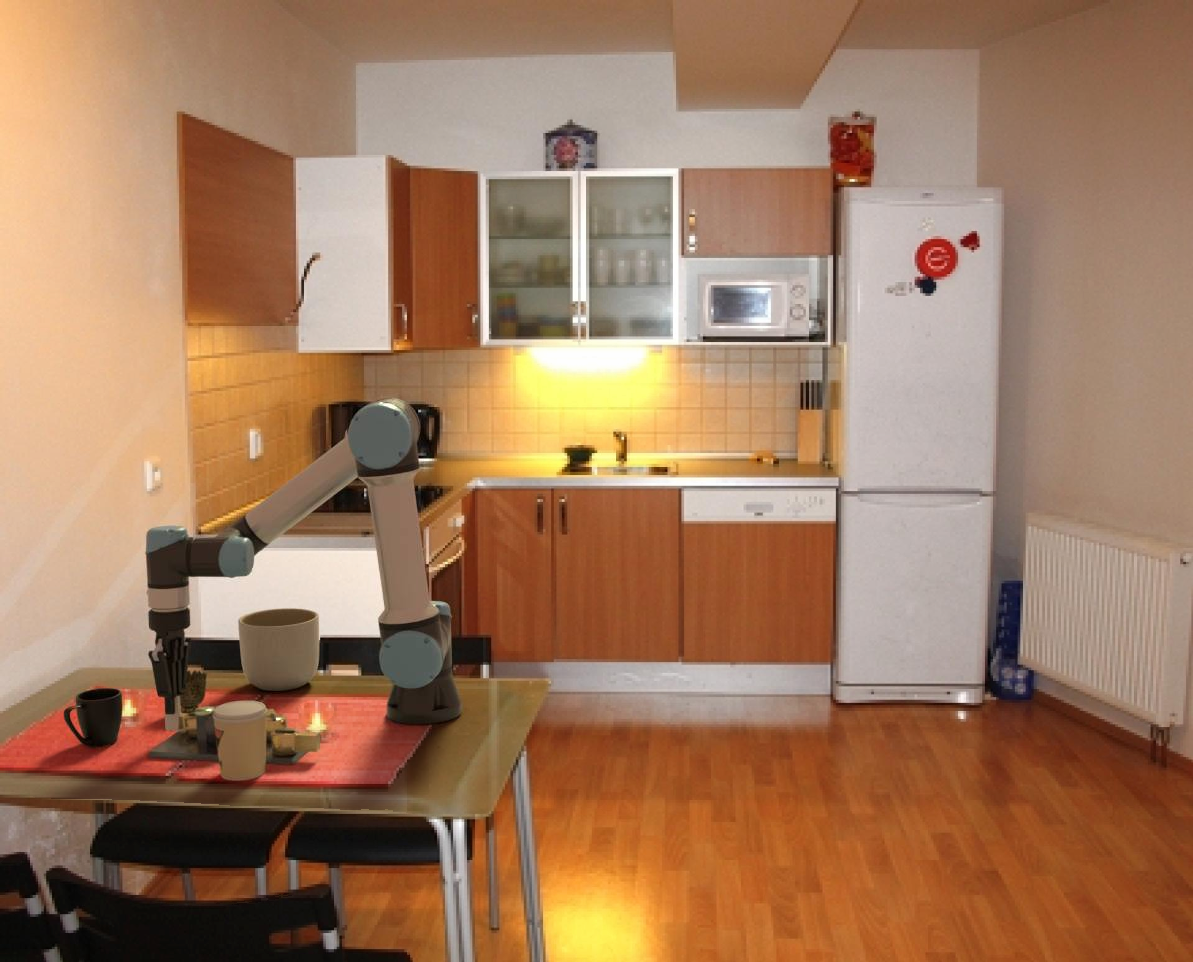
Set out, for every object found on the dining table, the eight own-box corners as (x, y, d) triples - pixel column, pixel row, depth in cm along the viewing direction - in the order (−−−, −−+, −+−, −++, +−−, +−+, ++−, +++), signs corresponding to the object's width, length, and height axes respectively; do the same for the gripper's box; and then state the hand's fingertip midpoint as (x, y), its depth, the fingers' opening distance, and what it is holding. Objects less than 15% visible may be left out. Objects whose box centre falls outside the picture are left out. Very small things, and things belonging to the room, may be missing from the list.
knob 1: (217, 730, 253) (216, 710, 252) (202, 738, 248) (201, 718, 247) (177, 726, 255) (176, 707, 255) (162, 734, 250) (161, 714, 250)
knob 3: (267, 754, 239) (266, 733, 238) (278, 745, 244) (277, 725, 243) (313, 756, 237) (312, 736, 237) (323, 747, 242) (322, 727, 242)
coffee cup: (222, 764, 238) (218, 700, 237) (274, 762, 239) (271, 698, 237) (210, 783, 229) (207, 716, 227) (265, 781, 230) (261, 715, 228)
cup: (197, 719, 264) (195, 680, 263) (163, 717, 266) (161, 679, 265) (215, 708, 271) (213, 670, 270) (182, 706, 273) (180, 668, 272)
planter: (299, 669, 299) (297, 604, 297) (335, 686, 286) (332, 618, 284) (228, 683, 288) (225, 616, 286) (261, 701, 275) (258, 631, 273)
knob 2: (289, 738, 248) (288, 718, 247) (262, 741, 246) (261, 721, 245) (281, 724, 256) (281, 704, 255) (255, 727, 254) (254, 708, 253)
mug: (52, 751, 246) (49, 702, 245) (104, 732, 257) (101, 685, 255) (82, 758, 242) (78, 708, 241) (133, 739, 253) (130, 691, 251)
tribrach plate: (321, 739, 251) (319, 698, 250) (292, 764, 238) (290, 722, 237) (184, 732, 256) (182, 693, 255) (149, 757, 242) (146, 715, 241)
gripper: (166, 601, 255) (170, 719, 258) (133, 613, 243) (138, 738, 245) (202, 602, 254) (206, 721, 257) (171, 615, 242) (176, 739, 244)
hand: (173, 729), depth 251 cm, fingers closed
